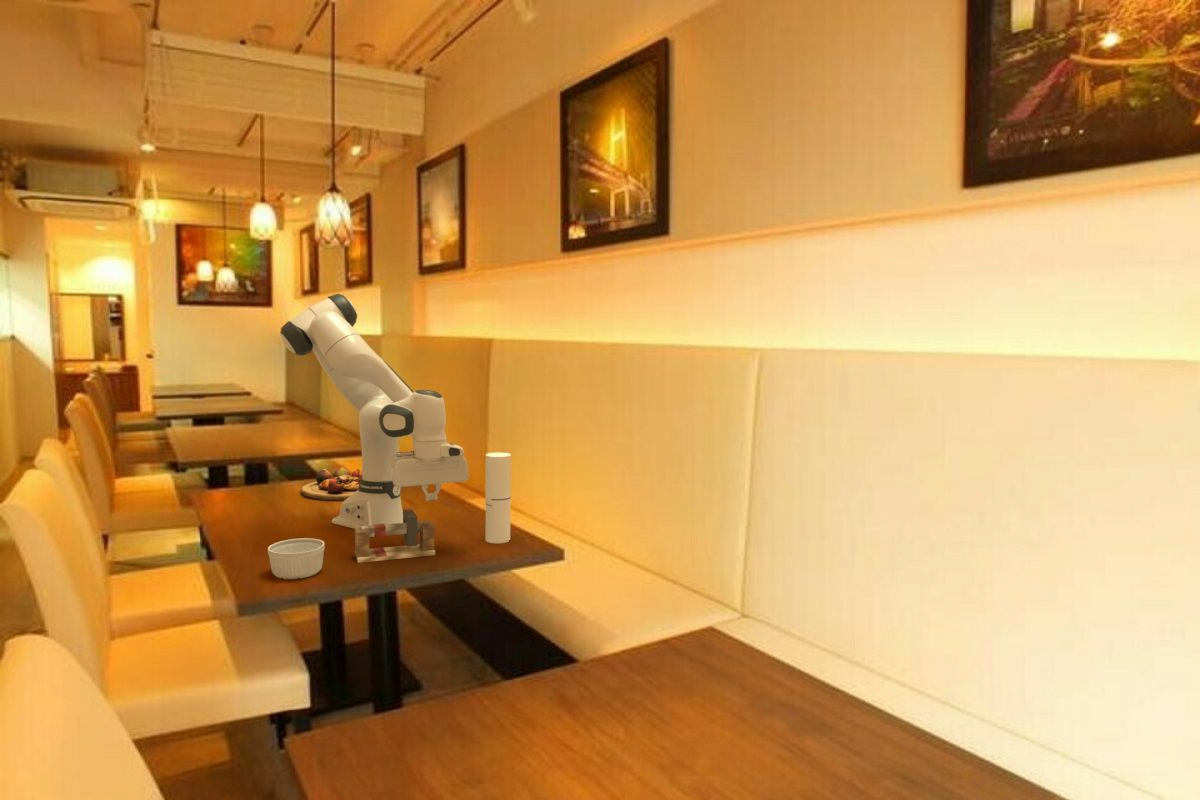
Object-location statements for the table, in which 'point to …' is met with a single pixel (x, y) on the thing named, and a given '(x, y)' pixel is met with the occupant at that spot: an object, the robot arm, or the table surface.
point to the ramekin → (296, 557)
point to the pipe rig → (398, 551)
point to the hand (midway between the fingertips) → (431, 500)
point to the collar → (410, 527)
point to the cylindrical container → (498, 497)
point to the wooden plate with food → (333, 485)
